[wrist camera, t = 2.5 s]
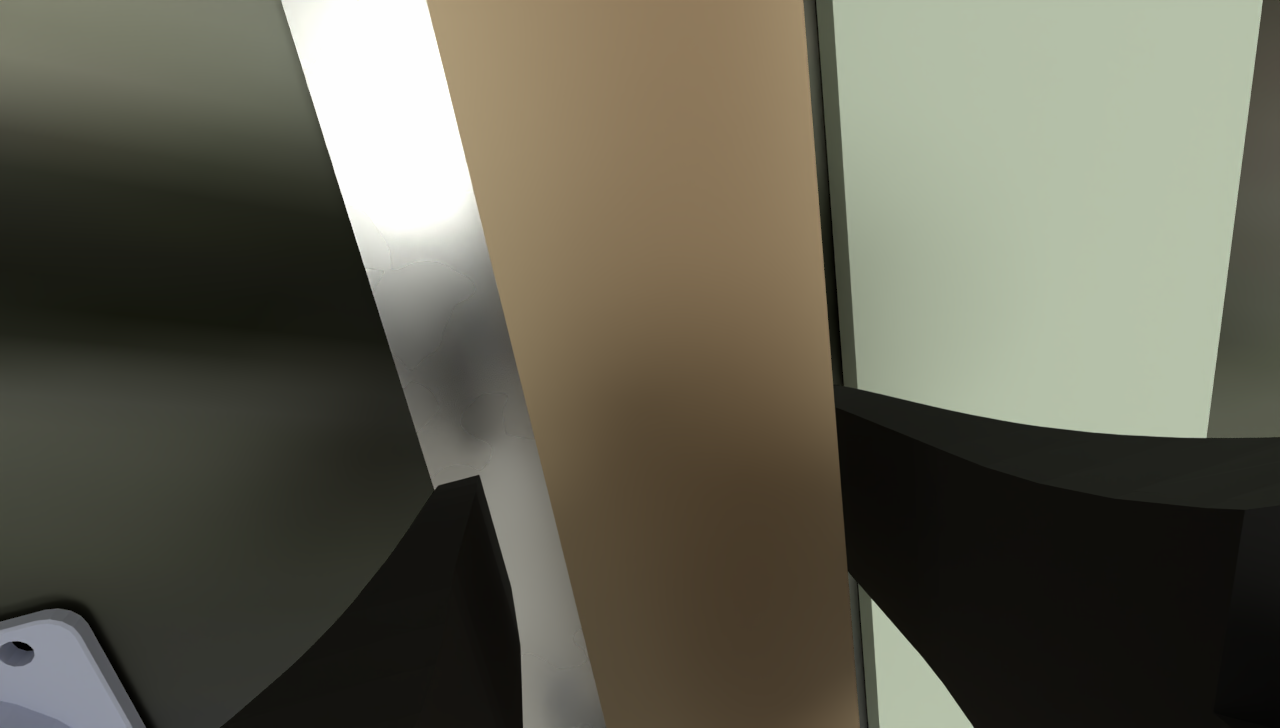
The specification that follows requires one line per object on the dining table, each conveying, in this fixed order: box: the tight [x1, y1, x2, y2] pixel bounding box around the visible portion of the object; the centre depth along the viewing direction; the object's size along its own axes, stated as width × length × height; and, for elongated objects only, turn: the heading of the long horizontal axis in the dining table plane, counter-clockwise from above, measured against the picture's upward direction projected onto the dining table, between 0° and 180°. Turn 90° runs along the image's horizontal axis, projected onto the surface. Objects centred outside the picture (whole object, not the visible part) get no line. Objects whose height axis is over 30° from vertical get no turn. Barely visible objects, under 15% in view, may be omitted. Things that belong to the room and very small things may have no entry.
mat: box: [816, 0, 1263, 728], centre depth 15 cm, size 9×28×1 cm, turn 9°
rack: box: [281, 0, 606, 728], centre depth 12 cm, size 7×23×6 cm, turn 9°
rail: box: [426, 0, 860, 728], centre depth 9 cm, size 3×24×3 cm, turn 9°
